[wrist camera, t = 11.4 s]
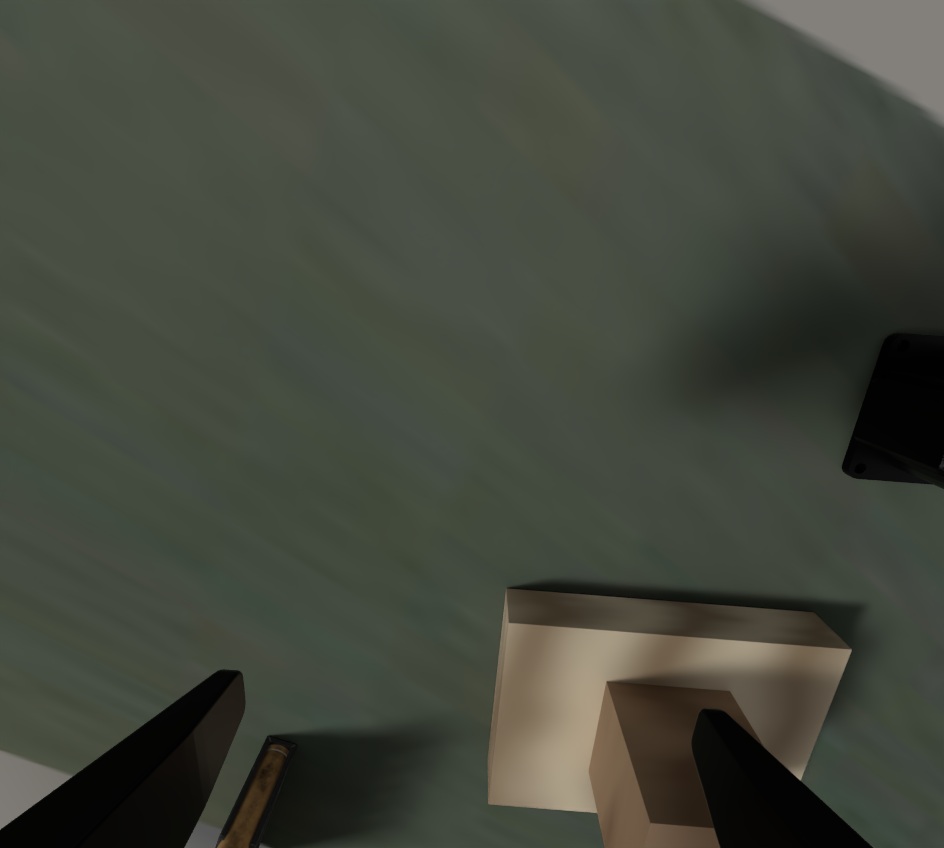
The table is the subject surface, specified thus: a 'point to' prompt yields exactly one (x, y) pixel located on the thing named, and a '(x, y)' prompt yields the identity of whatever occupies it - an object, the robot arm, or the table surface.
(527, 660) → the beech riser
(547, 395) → the table surface
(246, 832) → the ammunition clip
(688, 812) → the walnut cube
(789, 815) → the robot arm
